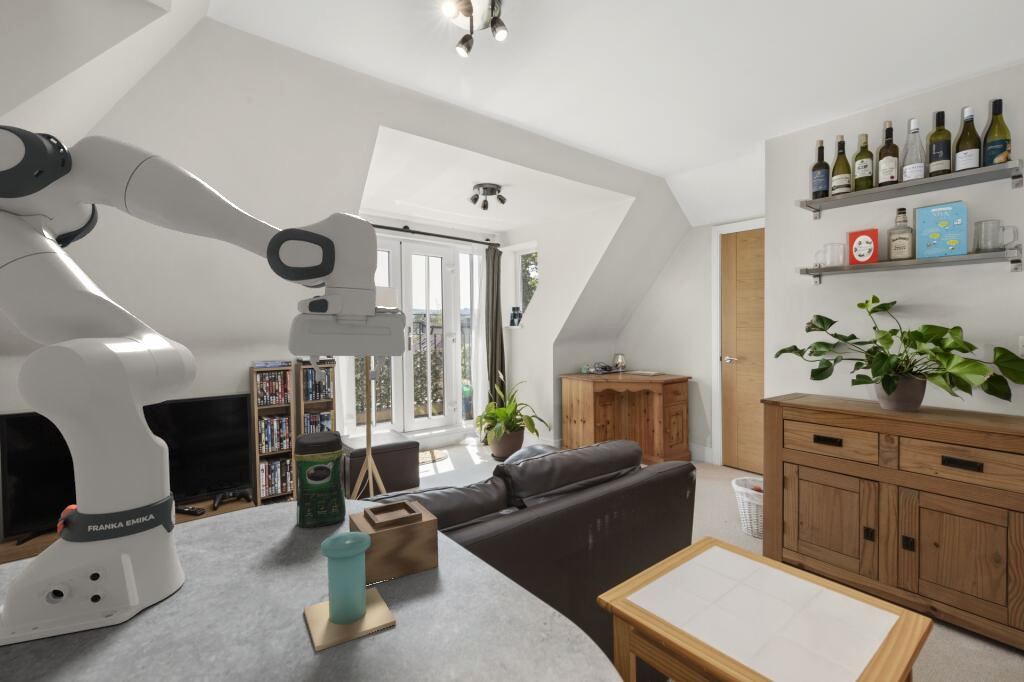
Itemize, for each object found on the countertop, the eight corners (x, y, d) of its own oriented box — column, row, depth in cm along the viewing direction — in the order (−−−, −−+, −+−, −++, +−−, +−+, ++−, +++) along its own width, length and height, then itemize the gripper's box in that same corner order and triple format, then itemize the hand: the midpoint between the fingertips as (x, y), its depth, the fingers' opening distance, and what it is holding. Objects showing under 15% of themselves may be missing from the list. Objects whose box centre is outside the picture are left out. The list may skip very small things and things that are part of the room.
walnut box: (365, 587, 74) (363, 528, 74) (350, 561, 83) (348, 508, 83) (438, 566, 81) (437, 512, 80) (417, 544, 89) (416, 495, 89)
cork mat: (316, 651, 59) (315, 646, 59) (303, 611, 68) (303, 607, 68) (395, 624, 65) (395, 620, 65) (375, 591, 73) (375, 587, 73)
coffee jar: (345, 510, 107) (343, 426, 106) (346, 524, 99) (343, 433, 99) (297, 517, 103) (295, 430, 103) (294, 531, 96) (291, 438, 96)
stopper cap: (322, 632, 62) (320, 555, 62) (323, 606, 68) (321, 536, 68) (374, 621, 64) (372, 546, 64) (370, 597, 70) (368, 528, 70)
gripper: (401, 307, 96) (398, 377, 97) (288, 301, 86) (286, 378, 87) (411, 308, 91) (408, 381, 92) (291, 302, 81) (289, 384, 82)
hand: (347, 380), depth 89 cm, fingers open, 8 cm apart
